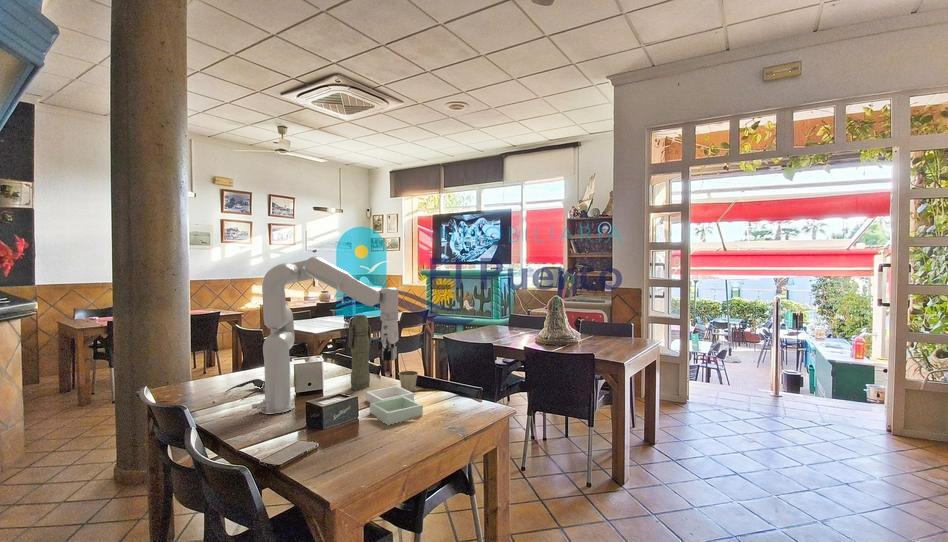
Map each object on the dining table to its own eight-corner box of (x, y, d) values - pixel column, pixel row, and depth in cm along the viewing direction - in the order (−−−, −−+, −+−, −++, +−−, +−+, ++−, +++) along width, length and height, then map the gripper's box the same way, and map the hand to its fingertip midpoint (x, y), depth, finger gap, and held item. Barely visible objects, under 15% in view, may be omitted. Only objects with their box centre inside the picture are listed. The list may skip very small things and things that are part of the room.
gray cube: (393, 360, 183) (393, 348, 183) (381, 360, 183) (381, 348, 183) (396, 358, 188) (396, 346, 188) (385, 357, 188) (385, 346, 188)
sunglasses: (275, 392, 203) (274, 382, 203) (240, 406, 189) (239, 395, 189) (255, 387, 212) (253, 377, 211) (220, 400, 198) (218, 389, 197)
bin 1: (381, 411, 175) (381, 400, 175) (366, 402, 187) (365, 391, 187) (414, 403, 184) (414, 393, 184) (397, 395, 196) (397, 385, 196)
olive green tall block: (375, 386, 212) (375, 314, 212) (357, 392, 202) (357, 317, 202) (363, 383, 217) (362, 313, 217) (344, 389, 207) (344, 316, 207)
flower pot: (420, 388, 208) (420, 370, 207) (415, 394, 198) (415, 375, 198) (401, 388, 208) (401, 370, 208) (395, 394, 199) (395, 375, 199)
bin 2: (387, 425, 159) (387, 413, 159) (370, 414, 171) (370, 403, 171) (422, 416, 169) (422, 405, 168) (403, 407, 180) (403, 396, 180)
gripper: (391, 318, 177) (391, 363, 177) (403, 314, 193) (403, 355, 194) (374, 318, 177) (373, 363, 178) (387, 314, 194) (387, 354, 194)
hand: (389, 358), depth 186 cm, fingers closed on gray cube, 5 cm apart
